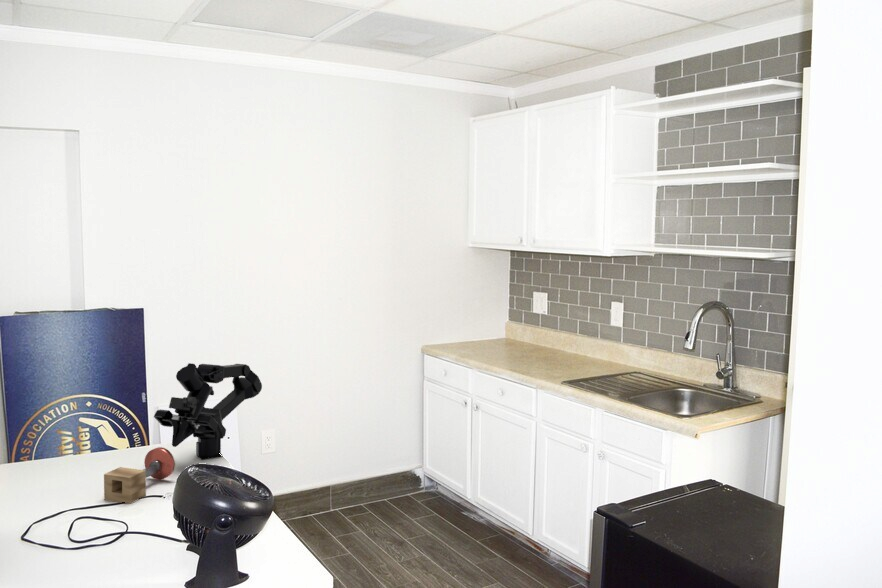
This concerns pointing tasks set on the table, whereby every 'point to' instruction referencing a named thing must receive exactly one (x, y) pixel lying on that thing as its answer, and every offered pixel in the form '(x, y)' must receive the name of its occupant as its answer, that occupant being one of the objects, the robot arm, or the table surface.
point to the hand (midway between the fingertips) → (173, 446)
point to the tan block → (124, 485)
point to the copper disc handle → (159, 463)
